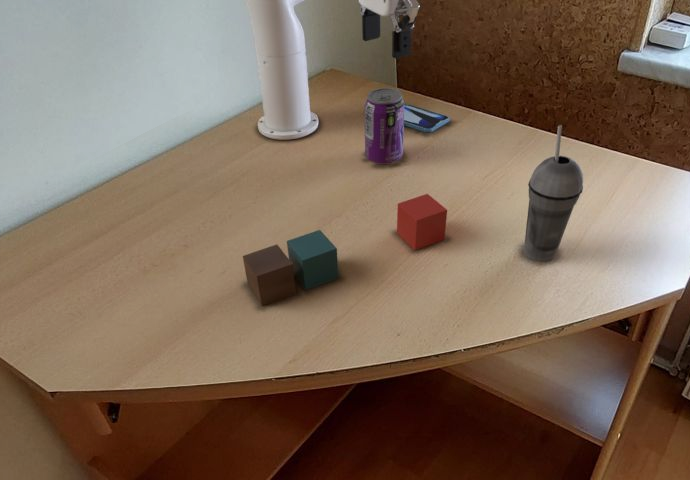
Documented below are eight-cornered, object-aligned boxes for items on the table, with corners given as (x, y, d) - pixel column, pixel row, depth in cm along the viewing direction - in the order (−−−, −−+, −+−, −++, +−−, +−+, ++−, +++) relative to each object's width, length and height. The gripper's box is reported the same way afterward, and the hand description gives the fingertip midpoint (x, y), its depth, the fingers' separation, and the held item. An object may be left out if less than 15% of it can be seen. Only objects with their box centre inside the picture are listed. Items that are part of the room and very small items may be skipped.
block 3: (396, 232, 100) (397, 203, 96) (425, 222, 101) (427, 193, 97) (415, 250, 96) (416, 220, 92) (444, 239, 98) (447, 209, 94)
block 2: (290, 270, 95) (286, 240, 91) (322, 259, 96) (319, 229, 92) (305, 290, 91) (302, 260, 87) (338, 278, 93) (336, 248, 89)
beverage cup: (556, 273, 90) (590, 145, 76) (507, 259, 93) (532, 133, 79) (570, 246, 95) (605, 121, 80) (524, 234, 98) (550, 110, 83)
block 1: (247, 285, 93) (242, 255, 89) (281, 273, 94) (277, 243, 90) (261, 306, 89) (256, 276, 85) (296, 293, 91) (292, 263, 87)
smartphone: (393, 99, 133) (451, 116, 125) (393, 103, 134) (451, 121, 126) (371, 111, 129) (429, 130, 121) (371, 116, 130) (428, 135, 122)
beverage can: (400, 167, 114) (402, 104, 106) (362, 166, 115) (361, 103, 107) (404, 149, 119) (406, 86, 110) (368, 147, 120) (367, 86, 112)
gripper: (336, -80, 95) (341, 37, 107) (395, -61, 84) (393, 69, 96) (379, -88, 97) (379, 28, 109) (441, -70, 86) (434, 58, 98)
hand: (386, 47), depth 103 cm, fingers open, 9 cm apart
